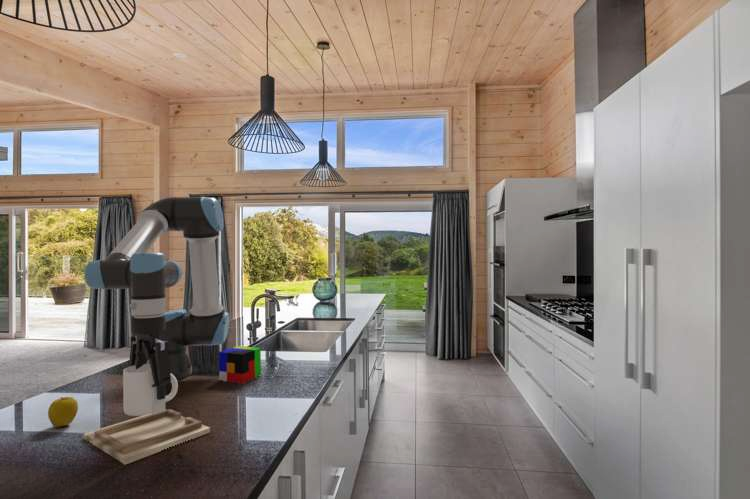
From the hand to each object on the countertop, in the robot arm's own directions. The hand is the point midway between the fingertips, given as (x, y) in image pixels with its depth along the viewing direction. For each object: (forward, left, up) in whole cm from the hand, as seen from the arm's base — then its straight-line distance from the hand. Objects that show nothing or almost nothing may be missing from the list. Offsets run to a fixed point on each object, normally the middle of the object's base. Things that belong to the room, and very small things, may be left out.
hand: (149, 408), depth 107 cm
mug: (+1, 0, 0) cm, 1 cm away
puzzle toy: (-23, +43, -7) cm, 49 cm away
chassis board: (-1, 0, -7) cm, 7 cm away
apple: (-25, -10, -7) cm, 28 cm away
